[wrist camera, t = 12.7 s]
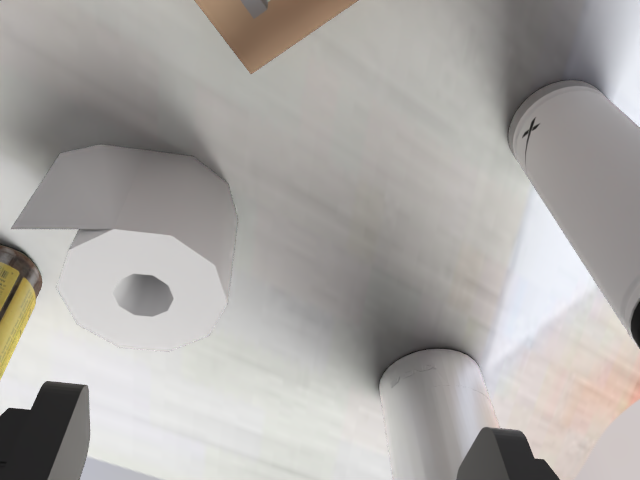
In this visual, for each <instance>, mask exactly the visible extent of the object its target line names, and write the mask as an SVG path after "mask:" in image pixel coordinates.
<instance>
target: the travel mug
mask: <svg viewBox="0 0 640 480" xmlns="http://www.w3.org/2000/svg"><path fill="white" fill-rule="evenodd" d="M508 140H509V146H510V149H511V151H512V154H513V155H514V157H515V158H516V160H517V161H518V163H519V164H520V166H521V168H522V169H523V171H524V172H525V174H526V175H527V177H528V179H529V180H530V182H531V183H532V185H533V186H534V188H535V189H536V191H537V193H538V194H539V196H540V197H541V199H542V200H543V202H544V203H545V205H546V206H547V208H548V210H549V211H550V213H551V214H552V216H553V217H554V219H555V220H556V222H557V224H558V225H559V227H560V228H561V230H562V231H563V233H564V234H565V236H566V238H567V239H568V241H569V242H570V244H571V245H572V247H573V248H574V250H575V252H576V253H577V255H578V256H579V258H580V259H581V261H582V262H583V264H584V266H585V267H586V269H587V270H588V272H589V273H590V275H591V276H592V278H593V280H594V281H595V283H596V284H597V286H598V287H599V289H600V290H601V292H602V293H603V295H604V297H605V298H606V300H607V301H608V303H609V304H610V306H611V307H612V309H613V311H614V312H615V314H616V315H617V317H618V318H619V320H620V321H621V323H622V325H623V326H624V327H625V329H626V330H627V332H628V334H629V335H630V337H631V339H632V340H633V341H634V343H635V344H636V345H637V346H638V347H639V348H640V127H638V126H637V125H636V124H635V123H634V122H633V121H632V120H631V119H630V118H629V117H628V116H626V115H625V114H624V113H623V112H622V111H621V110H620V109H619V108H618V107H617V106H616V105H614V104H613V103H612V102H611V101H610V100H609V99H608V98H607V97H606V96H605V95H604V94H602V93H601V92H600V91H599V90H598V89H597V88H596V87H594V86H592V85H591V84H589V83H586V82H582V81H578V80H566V81H559V82H556V83H552V84H549V85H547V86H545V87H543V88H541V89H539V90H538V91H536V92H535V93H533V94H532V95H531V96H529V97H528V98H527V99H526V100H525V101H524V102H523V103H522V105H521V106H520V107H519V109H518V110H517V111H516V113H515V115H514V117H513V119H512V121H511V124H510V128H509V135H508Z"/></svg>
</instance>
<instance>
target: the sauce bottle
mask: <svg viewBox="0 0 640 480" xmlns="http://www.w3.org/2000/svg"><path fill="white" fill-rule="evenodd" d="M41 286H42V278H41V275H40V273H39V270H38V268H37V267H36V265H35V264H34V263H33V262H32V261H31V259H30V258H29V257H27V256H26V255H25V254H23V253H22V252H19V251H17V250H14V249H12V248H9V247H6V246H3V245H0V380H1V377H2V375H3V373H4V371H5V369H6V367H7V365H8V362H9V360H10V358H11V356H12V354H13V352H14V350H15V348H16V345H17V343H18V341H19V339H20V337H21V335H22V333H23V330H24V328H25V326H26V324H27V322H28V320H29V318H30V315H31V313H32V311H33V309H34V307H35V303H36V298H37V296H38V294H39V291H40V290H41Z"/></svg>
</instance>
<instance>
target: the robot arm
mask: <svg viewBox="0 0 640 480" xmlns="http://www.w3.org/2000/svg"><path fill="white" fill-rule="evenodd" d="M379 391H380V398H381V404H382V411H383V418H384V424H385V432H386V439H387V445H388V452H389V458H390V465H391V471H392V478H393V480H560V479H559V478H558V476H557V475H556V474H555V473H554V471H553V470H552V469H551V468H550V466H549V465H548V464H547V463H546V461H545V460H544V459H534V456H533V454H532V451H531V449H530V446H529V443H528V441H527V439H526V437H525V435H524V434H523V433H522V432H521V431H519V430H512V429H502V428H500V426H499V423H498V421H497V418H496V415H495V412H494V409H493V405H492V402H491V399H490V397H489V394H488V391H487V388H486V385H485V382H484V379H483V376H482V373H481V370H480V368H479V366H478V365H477V363H476V362H475V361H474V360H473V359H472V358H470V357H469V356H468V355H465V354H463V353H461V352H458V351H454V350H449V349H428V350H423V351H418V352H415V353H412V354H409V355H407V356H405V357H403V358H401V359H399V360H397V361H396V362H395V363H393V364H392V365H391V366H390V367H389V368H388V369H387V370H386V371H385V373H384V374H383V376H382V378H381V380H380V385H379ZM89 440H90V416H89V390H88V386H87V385H81V384H71V383H61V382H51V381H46V382H45V383H44V384H43V385H42V387H41V389H40V391H39V393H38V395H37V397H36V399H35V402H34V404H33V406H32V408H31V410H27V409H16V408H8V409H7V410H6V411H5V412H4V413H3V414H2V415H1V416H0V480H80V476H81V474H82V470H83V467H84V464H85V461H86V457H87V452H88V447H89Z"/></svg>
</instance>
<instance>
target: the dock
mask: <svg viewBox="0 0 640 480" xmlns="http://www.w3.org/2000/svg"><path fill="white" fill-rule="evenodd" d="M357 1H358V0H195V2H196V3H197V4H198V6H199V7H200V8H201V10H202V11H203V12H204V14H205V15H206V16H207V17H208V19H209V20H210V21H211V23H212V24H213V25H214V27H215V28H216V29H217V31H218V32H219V33H220V34H221V36H222V37H223V38H224V40H225V41H226V42H227V44H228V45H229V46H230V48H231V49H232V50H233V51H234V53H235V54H236V55H237V57H238V58H239V59H240V61H241V62H242V63H243V65H244V66H245V67H246V69H247V70H248V71H249V72H250V74H252V73H254V72H255V71H257V70H258V69H259V68H261V67H262V66H264V65H265V64H267V63H268V62H270V61H271V60H273V59H274V58H275V57H277V56H278V55H280V54H281V53H283V52H284V51H286V50H287V49H289V48H290V47H291V46H293V45H294V44H296V43H297V42H299V41H300V40H302V39H303V38H305V37H306V36H307V35H309V34H310V33H312V32H313V31H315V30H316V29H318V28H319V27H321V26H322V25H323V24H325V23H326V22H328V21H329V20H331V19H332V18H334V17H335V16H336V15H338V14H339V13H341V12H342V11H344V10H345V9H347V8H348V7H350V6H351V5H352V4H354V3H355V2H357Z"/></svg>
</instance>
